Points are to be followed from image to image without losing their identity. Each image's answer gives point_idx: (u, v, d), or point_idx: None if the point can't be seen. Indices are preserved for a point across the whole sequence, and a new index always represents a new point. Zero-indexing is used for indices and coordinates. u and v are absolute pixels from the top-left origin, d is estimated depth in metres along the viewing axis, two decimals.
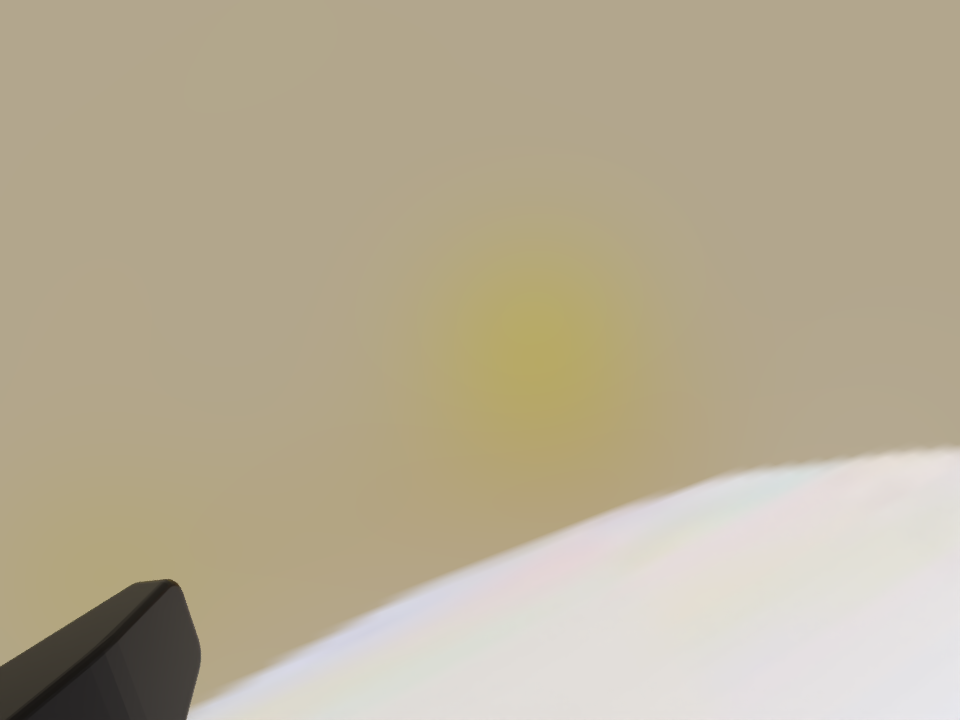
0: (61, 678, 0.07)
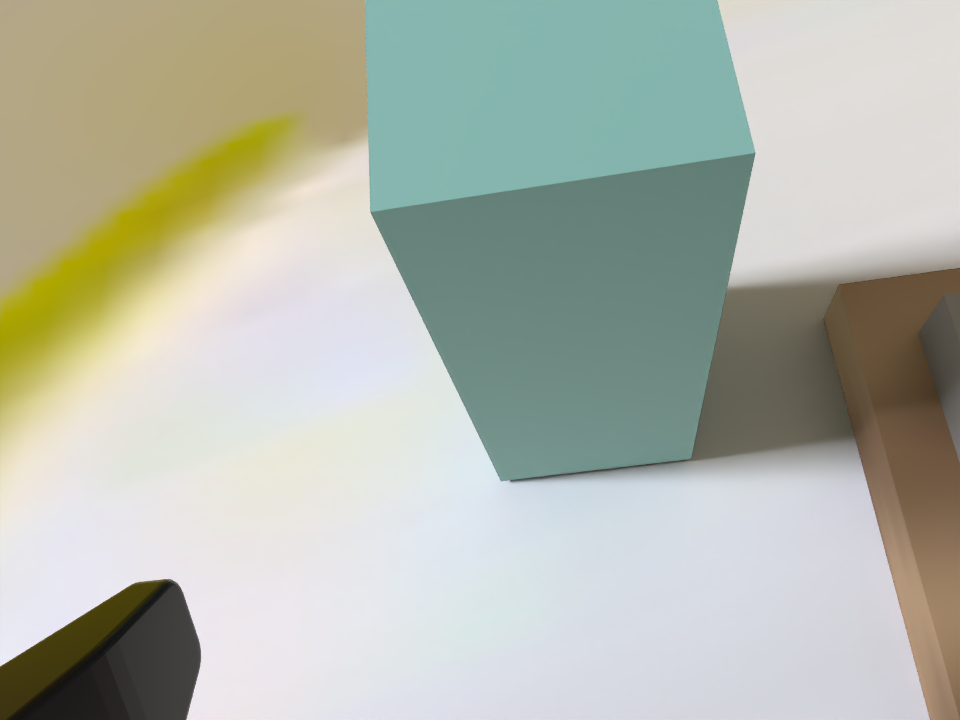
0: (61, 678, 0.07)
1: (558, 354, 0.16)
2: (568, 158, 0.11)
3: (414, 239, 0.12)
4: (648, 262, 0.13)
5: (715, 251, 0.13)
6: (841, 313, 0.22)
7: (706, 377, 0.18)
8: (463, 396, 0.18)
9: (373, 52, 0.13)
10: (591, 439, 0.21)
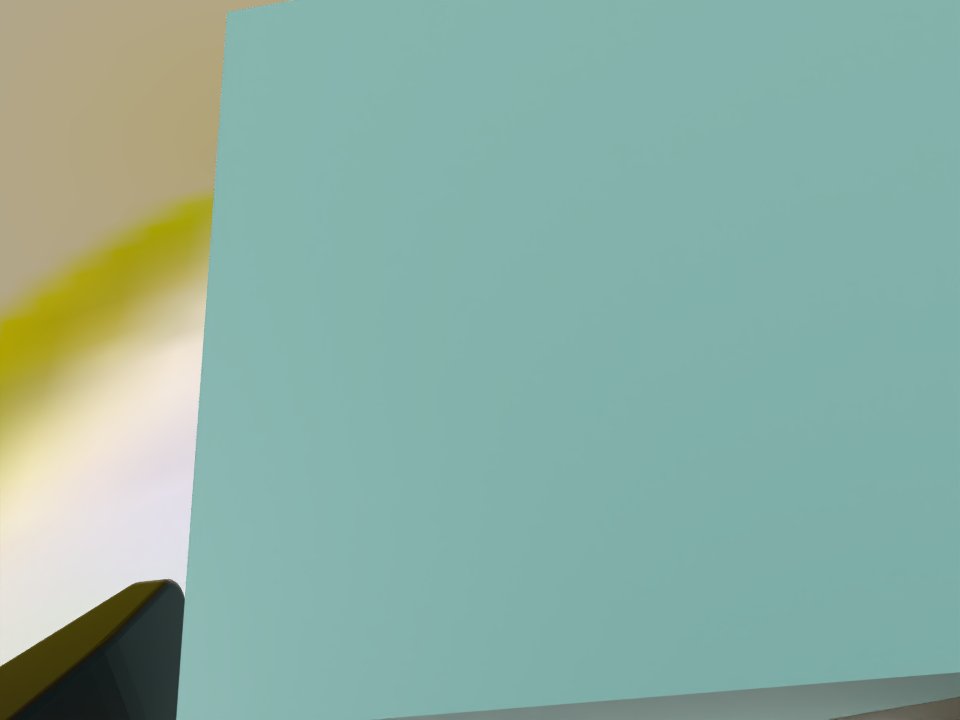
0: (61, 678, 0.07)
1: None
2: (693, 616, 0.04)
3: None
4: (825, 701, 0.06)
5: None
6: None
7: (850, 715, 0.11)
8: None
9: (225, 268, 0.06)
10: None
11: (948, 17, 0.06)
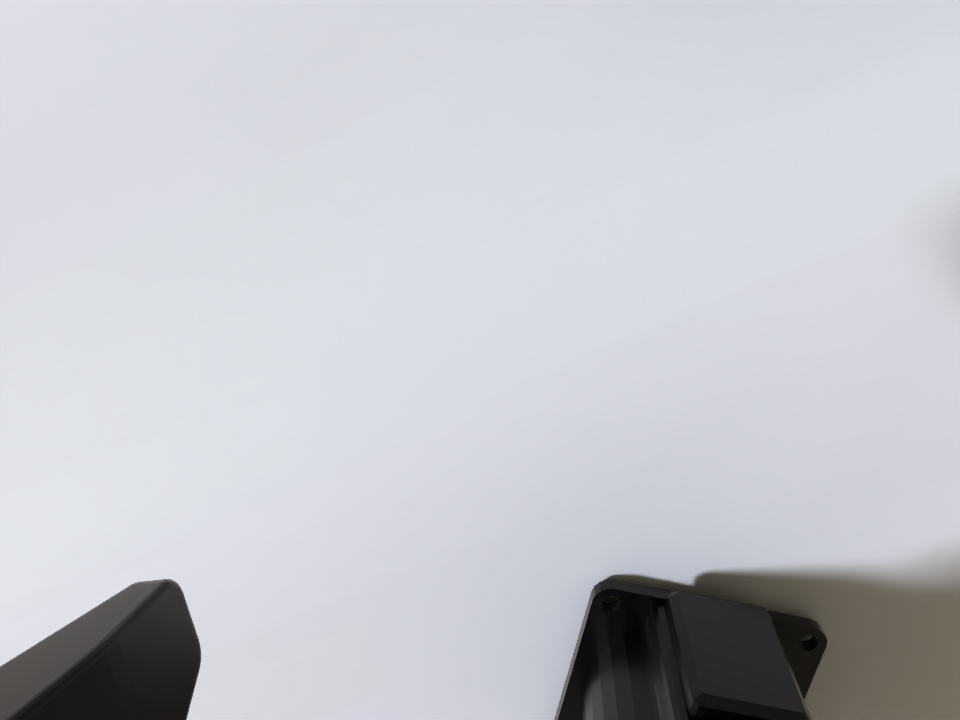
0: (61, 678, 0.07)
1: None
2: None
3: None
4: None
5: None
6: None
7: None
8: None
9: None
10: None
11: None
